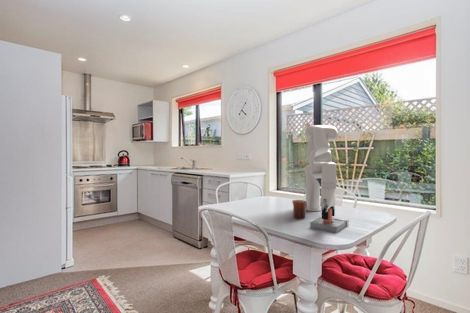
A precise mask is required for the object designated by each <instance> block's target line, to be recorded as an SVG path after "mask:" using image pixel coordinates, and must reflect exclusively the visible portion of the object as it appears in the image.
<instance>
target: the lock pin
mask: <svg viewBox="0 0 470 313" xmlns="http://www.w3.org/2000/svg"><path fill="white" fill-rule="evenodd" d="M327 212H328V220H325V219H323V222H325V223H332V217H333V216H332V209H330V208H328V211H327Z"/></svg>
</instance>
